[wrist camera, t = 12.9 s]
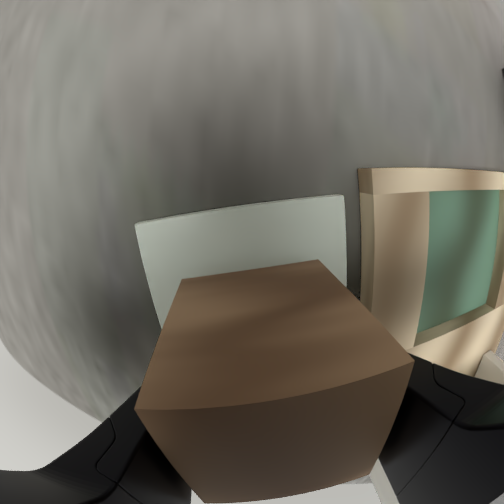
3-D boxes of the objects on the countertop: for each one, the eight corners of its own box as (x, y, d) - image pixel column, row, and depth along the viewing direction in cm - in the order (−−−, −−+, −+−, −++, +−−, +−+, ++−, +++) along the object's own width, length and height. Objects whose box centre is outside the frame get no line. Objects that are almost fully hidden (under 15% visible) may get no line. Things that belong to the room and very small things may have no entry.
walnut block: (317, 259, 9) (414, 360, 4) (319, 363, 10) (369, 474, 5) (181, 279, 9) (133, 408, 3) (208, 380, 10) (204, 503, 5)
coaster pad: (337, 194, 10) (344, 195, 10) (338, 354, 13) (342, 361, 12) (139, 221, 10) (134, 224, 9) (183, 379, 12) (182, 386, 12)
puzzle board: (514, 173, 11) (526, 175, 10) (466, 393, 17) (473, 400, 15) (357, 168, 10) (371, 168, 9) (339, 451, 16) (343, 462, 15)
